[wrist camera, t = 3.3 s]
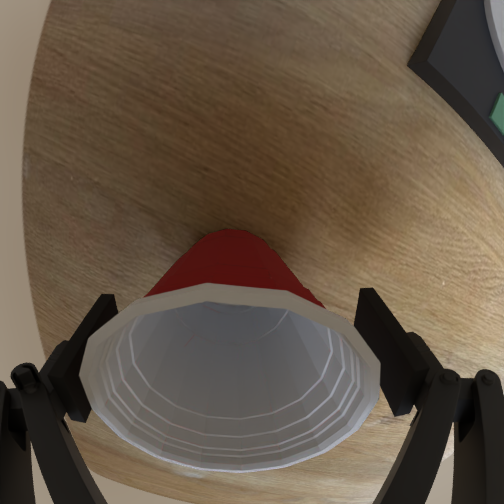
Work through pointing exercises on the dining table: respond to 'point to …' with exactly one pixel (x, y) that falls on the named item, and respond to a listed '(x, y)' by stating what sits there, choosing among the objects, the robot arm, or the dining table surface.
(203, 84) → the dining table surface
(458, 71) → the scale
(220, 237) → the plastic cup
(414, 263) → the dining table surface
